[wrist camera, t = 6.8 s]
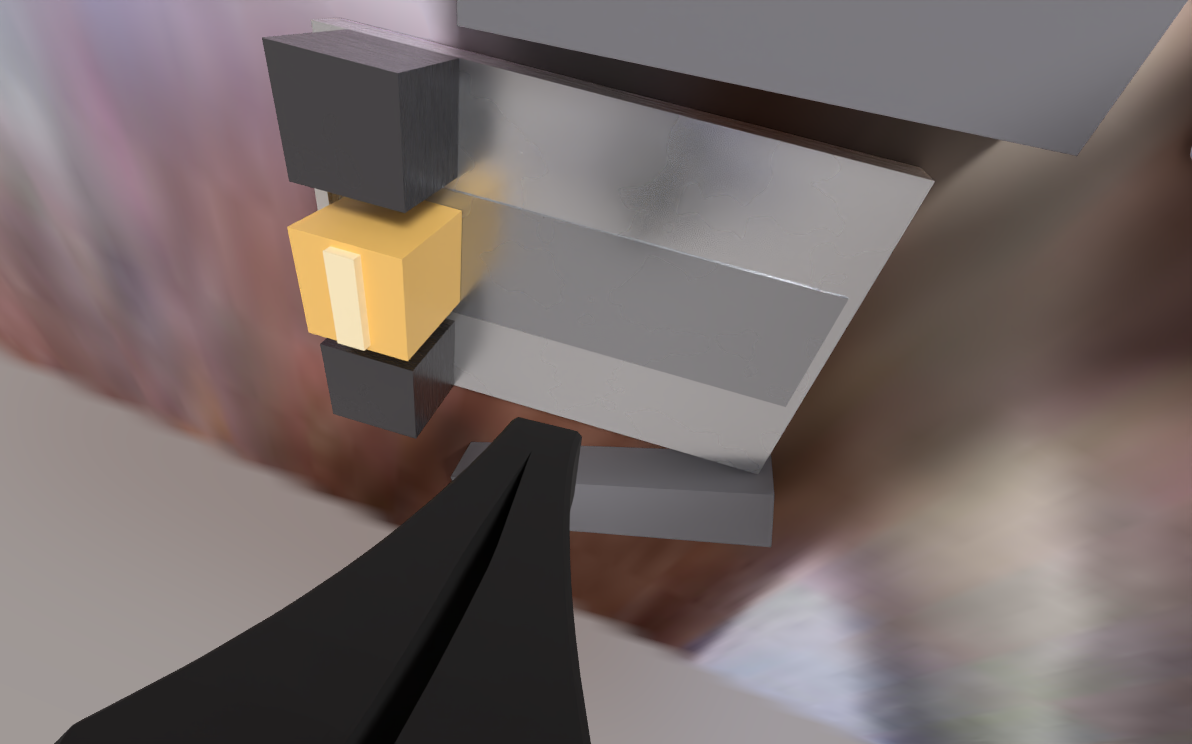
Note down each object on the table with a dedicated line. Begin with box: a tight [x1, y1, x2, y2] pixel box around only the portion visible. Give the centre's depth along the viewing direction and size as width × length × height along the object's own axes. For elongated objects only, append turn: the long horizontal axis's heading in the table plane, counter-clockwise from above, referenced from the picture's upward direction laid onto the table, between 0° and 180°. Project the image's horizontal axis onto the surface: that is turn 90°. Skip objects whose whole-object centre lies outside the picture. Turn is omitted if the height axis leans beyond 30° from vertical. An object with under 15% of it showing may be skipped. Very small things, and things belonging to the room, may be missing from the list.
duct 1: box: [451, 442, 774, 547], centre depth 22 cm, size 13×3×2 cm, turn 99°
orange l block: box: [287, 197, 462, 361], centre depth 15 cm, size 3×3×4 cm
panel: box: [262, 18, 935, 474], centre depth 15 cm, size 16×11×4 cm
